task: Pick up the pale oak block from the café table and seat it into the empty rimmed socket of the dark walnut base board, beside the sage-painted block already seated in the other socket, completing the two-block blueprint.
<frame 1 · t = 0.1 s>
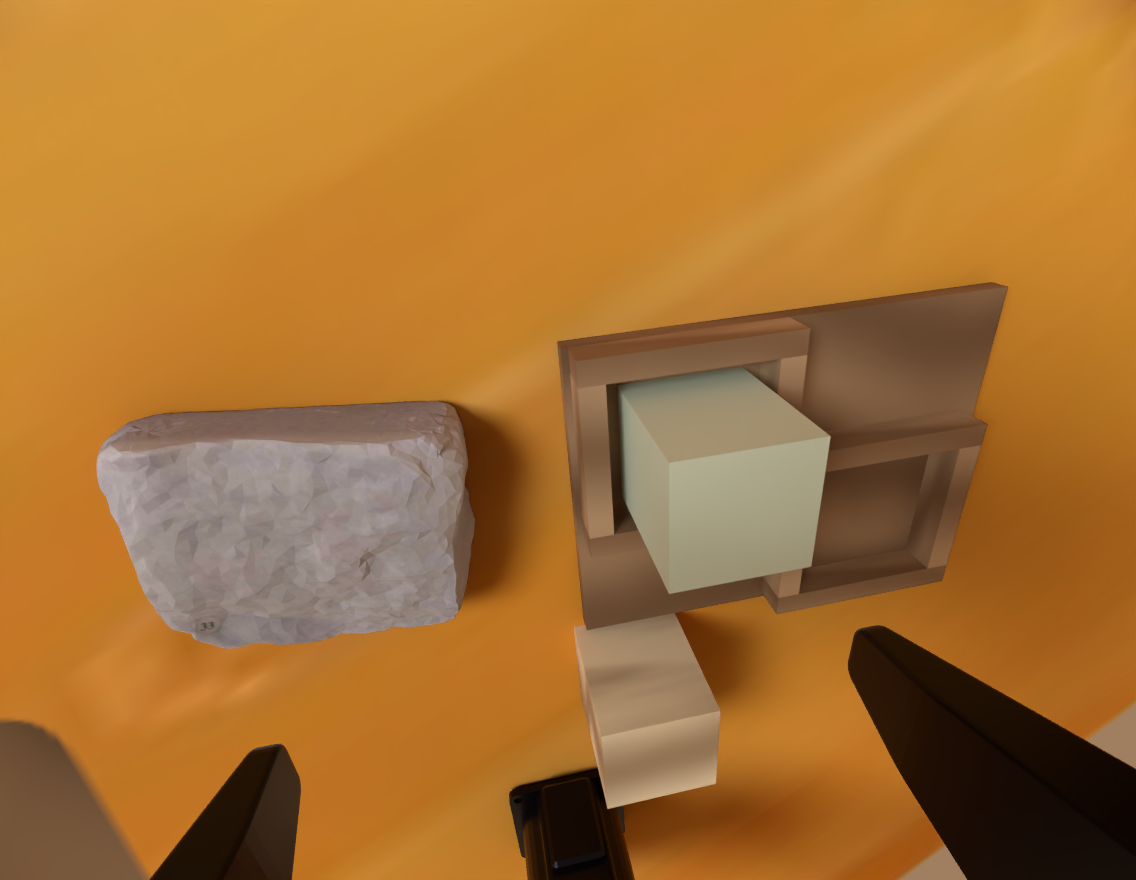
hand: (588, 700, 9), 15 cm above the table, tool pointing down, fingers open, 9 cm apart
stone block: (326, 507, 24), on the table
walnut base board: (769, 464, 26), on the table
sage block: (679, 433, 23), point 1 cm above the table, touching walnut base board
oak block: (625, 652, 30), on the table
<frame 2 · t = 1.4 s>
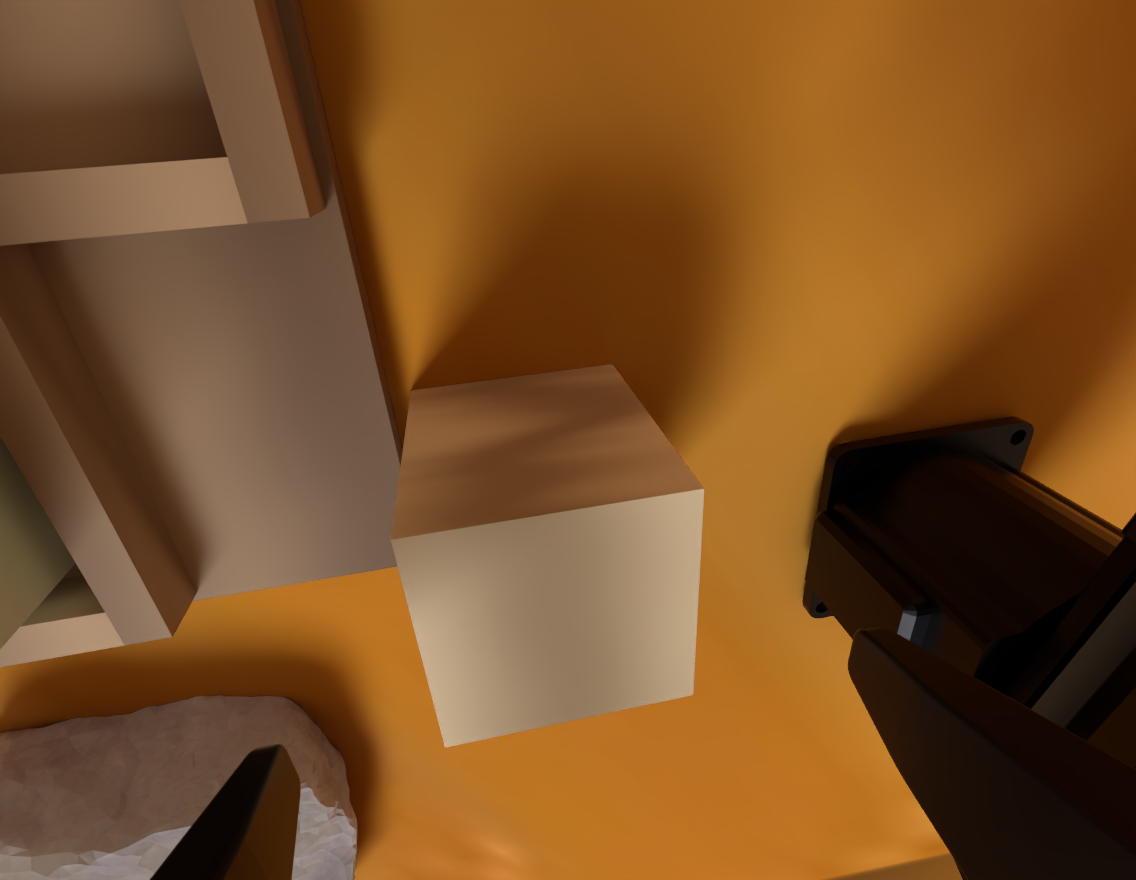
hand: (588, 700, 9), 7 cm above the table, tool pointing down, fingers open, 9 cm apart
stone block: (218, 805, 20), on the table
oak block: (524, 463, 16), on the table
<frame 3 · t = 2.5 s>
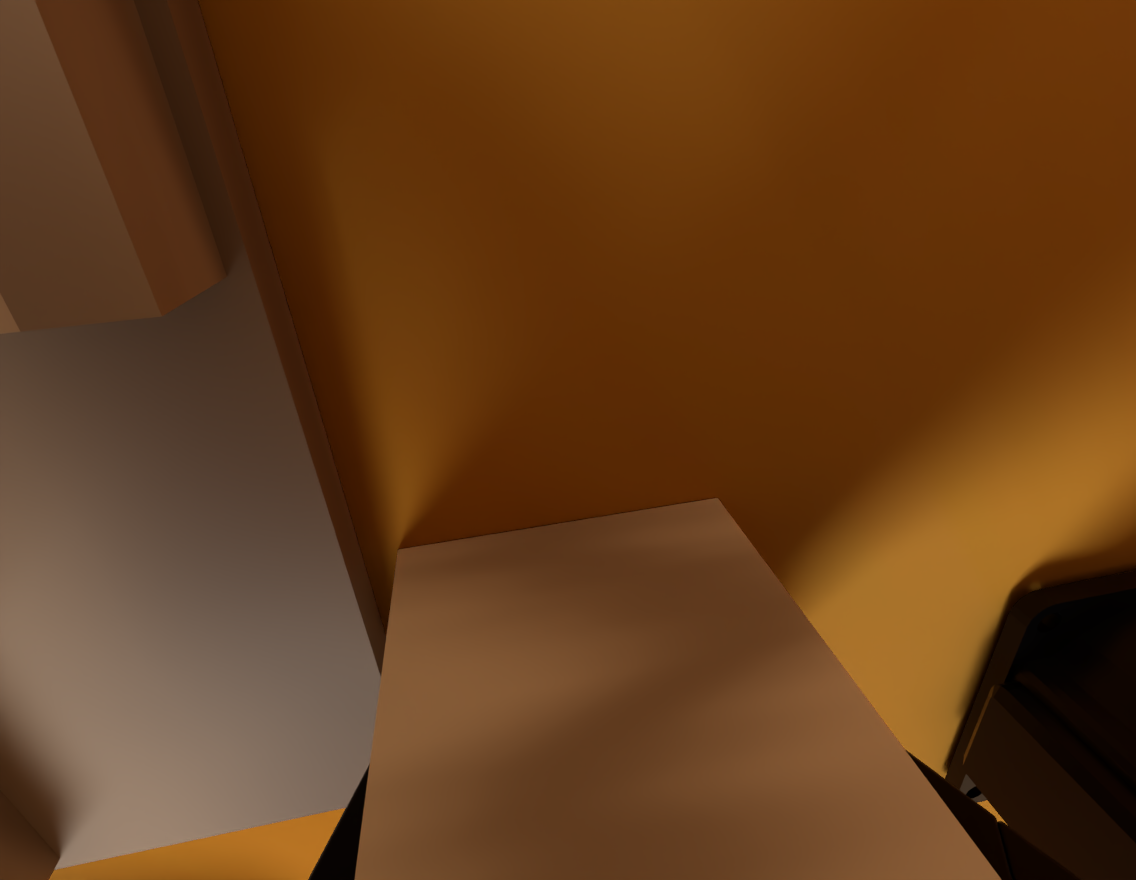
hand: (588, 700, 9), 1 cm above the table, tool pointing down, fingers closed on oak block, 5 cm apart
oak block: (573, 639, 10), on the table, touching gripper
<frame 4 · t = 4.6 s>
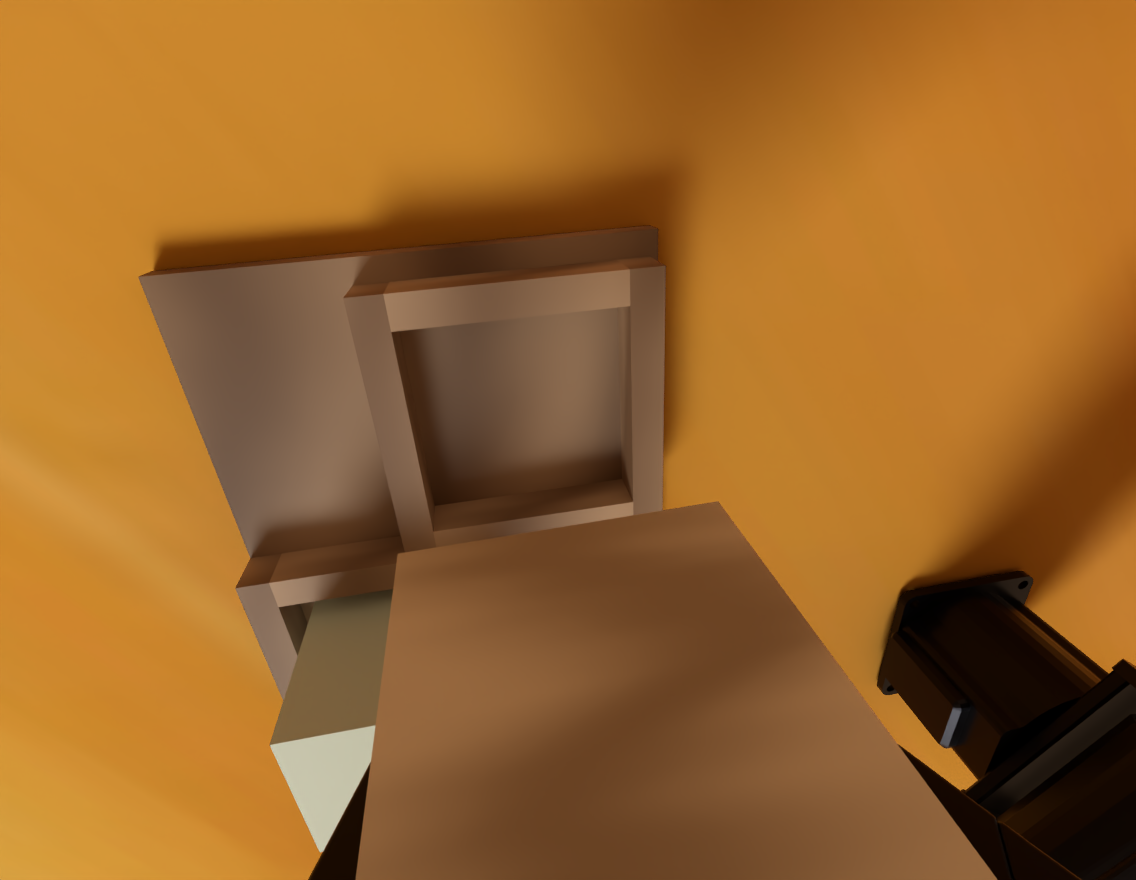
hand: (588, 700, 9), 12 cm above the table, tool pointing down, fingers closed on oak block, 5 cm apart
walnut base board: (460, 508, 21), on the table
sage block: (404, 629, 22), point 1 cm above the table, touching walnut base board
oak block: (573, 643, 10), point 11 cm above the table, touching gripper
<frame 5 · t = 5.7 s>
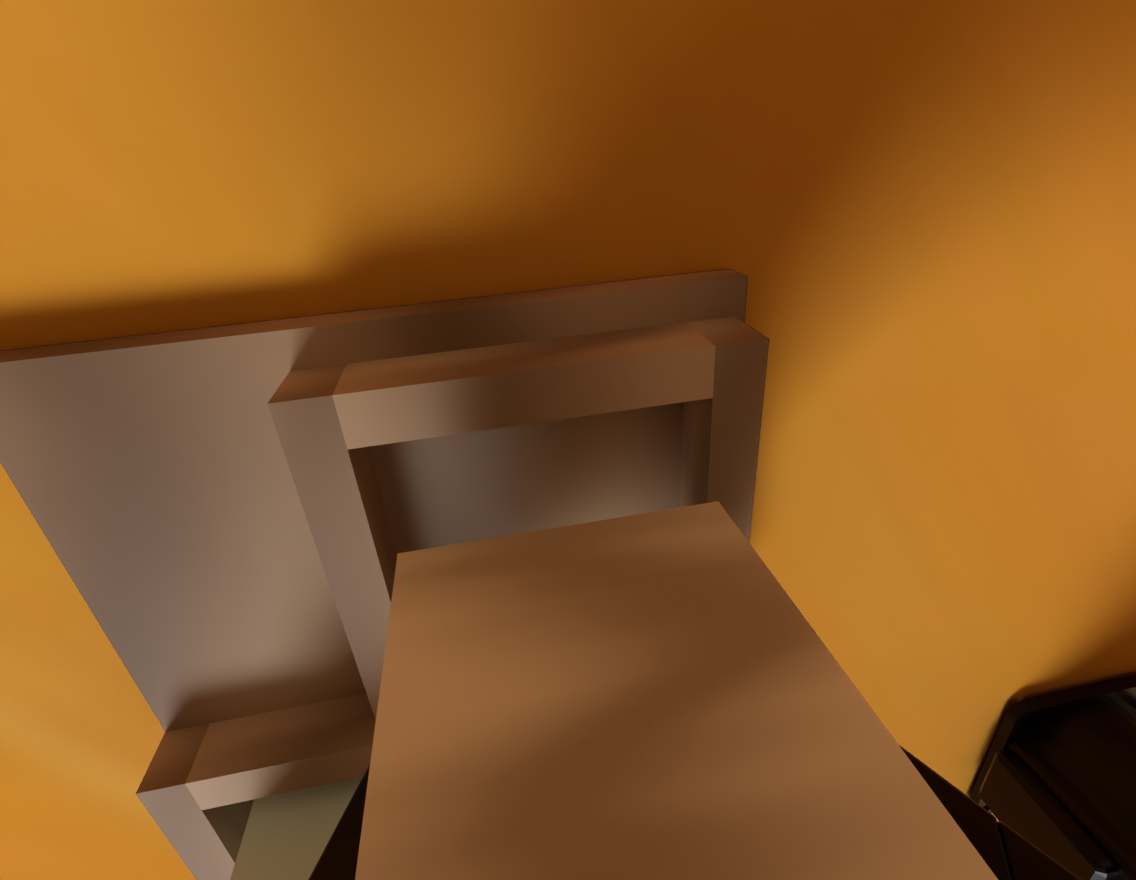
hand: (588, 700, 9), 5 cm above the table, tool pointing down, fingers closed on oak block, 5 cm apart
walnut base board: (458, 644, 15), on the table
sage block: (385, 797, 16), point 1 cm above the table, touching walnut base board
oak block: (573, 643, 10), point 4 cm above the table, touching gripper
when the fingers open (3 cm above the table, at t = 6.6 s): oak block stays where it is, resting on walnut base board.
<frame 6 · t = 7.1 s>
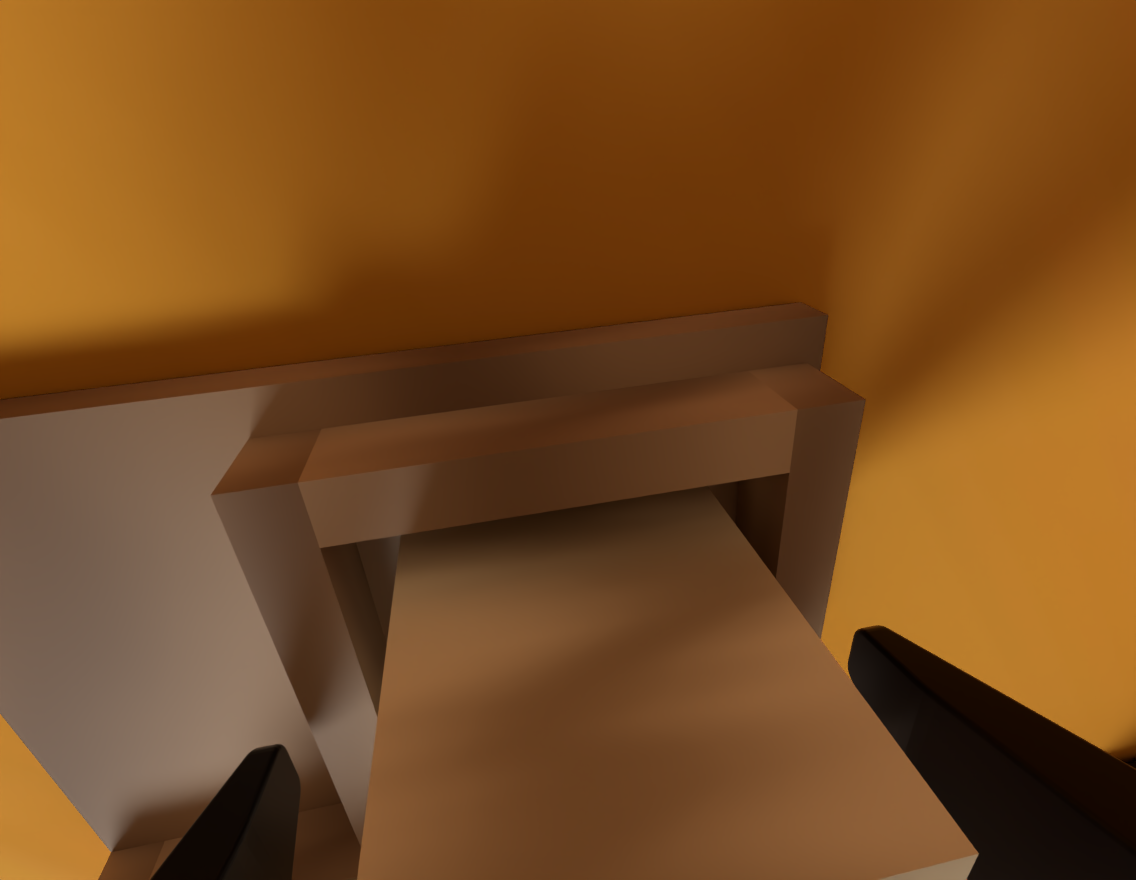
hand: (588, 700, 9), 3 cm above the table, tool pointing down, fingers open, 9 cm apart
walnut base board: (461, 735, 13), on the table
oak block: (566, 610, 11), point 1 cm above the table, touching walnut base board
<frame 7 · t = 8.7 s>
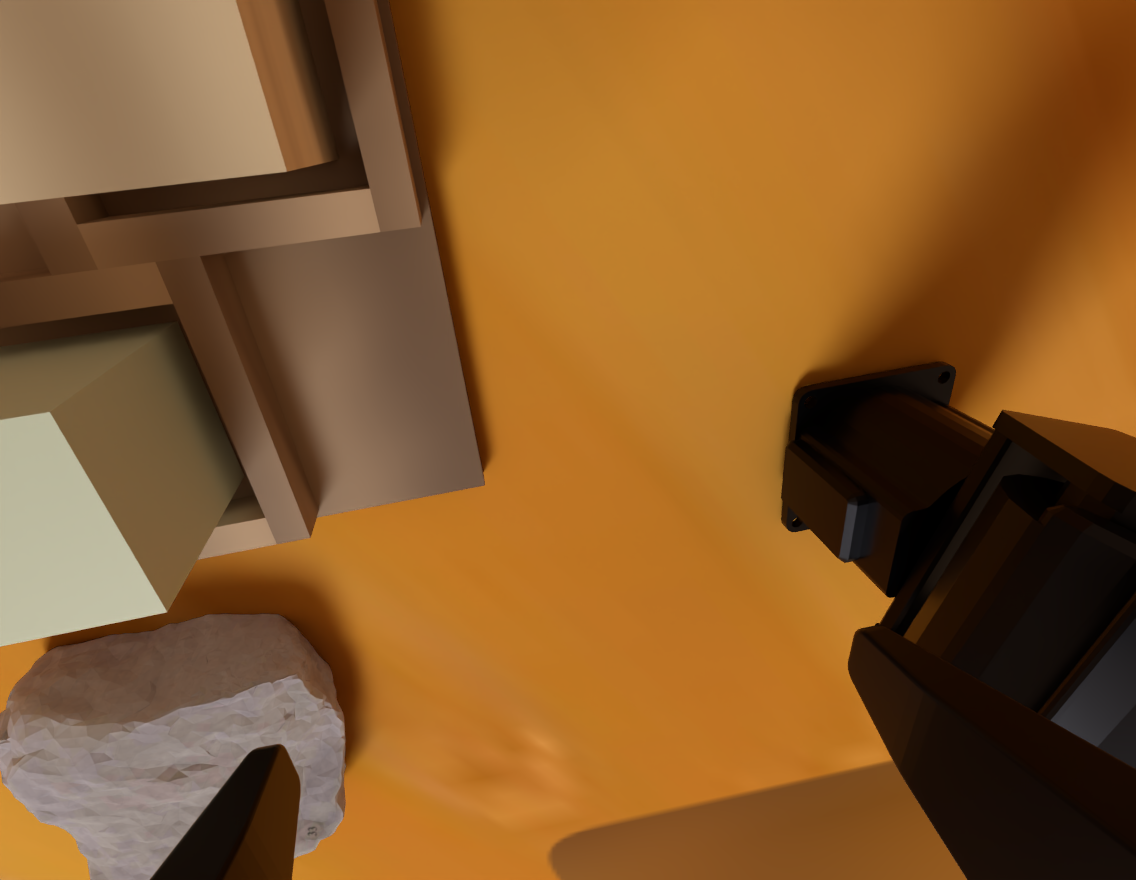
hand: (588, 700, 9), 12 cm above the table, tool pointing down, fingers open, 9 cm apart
stone block: (231, 714, 24), on the table
walnut base board: (167, 239, 16), on the table
sage block: (121, 418, 17), point 1 cm above the table, touching walnut base board
oak block: (196, 51, 13), point 1 cm above the table, touching walnut base board
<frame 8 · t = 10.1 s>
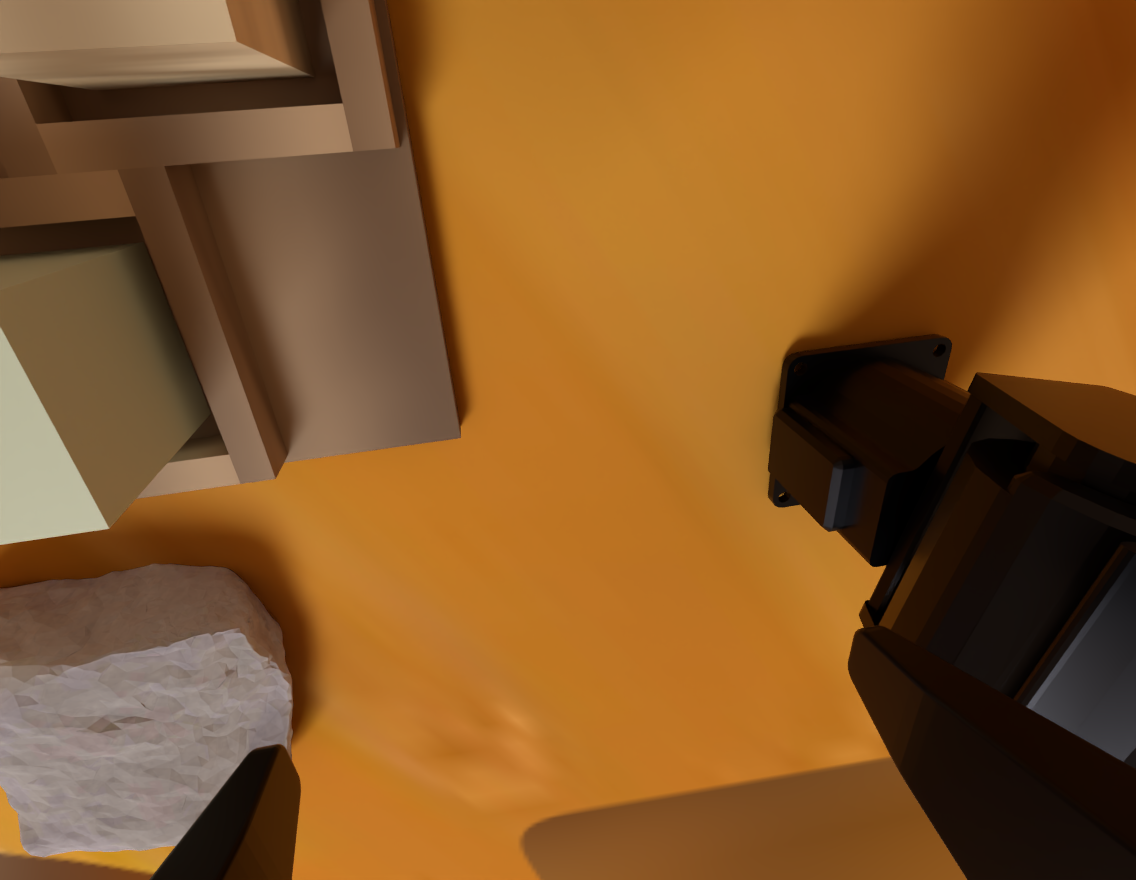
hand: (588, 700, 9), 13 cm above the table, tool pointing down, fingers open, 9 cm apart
stone block: (179, 673, 24), on the table
walnut base board: (137, 156, 15), on the table
sage block: (84, 344, 16), point 1 cm above the table, touching walnut base board
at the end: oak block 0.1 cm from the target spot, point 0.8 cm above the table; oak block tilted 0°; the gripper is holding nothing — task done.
